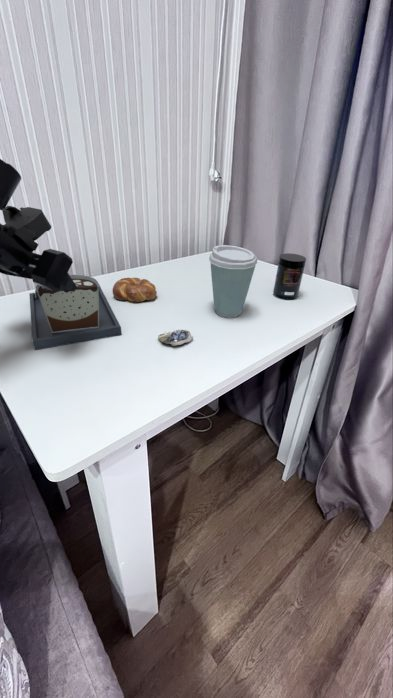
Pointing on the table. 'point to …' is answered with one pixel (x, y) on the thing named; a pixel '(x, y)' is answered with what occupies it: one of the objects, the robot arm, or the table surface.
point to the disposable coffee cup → (231, 278)
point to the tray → (47, 339)
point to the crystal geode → (176, 337)
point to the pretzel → (134, 289)
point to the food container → (72, 305)
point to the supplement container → (289, 275)
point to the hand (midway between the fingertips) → (58, 283)
